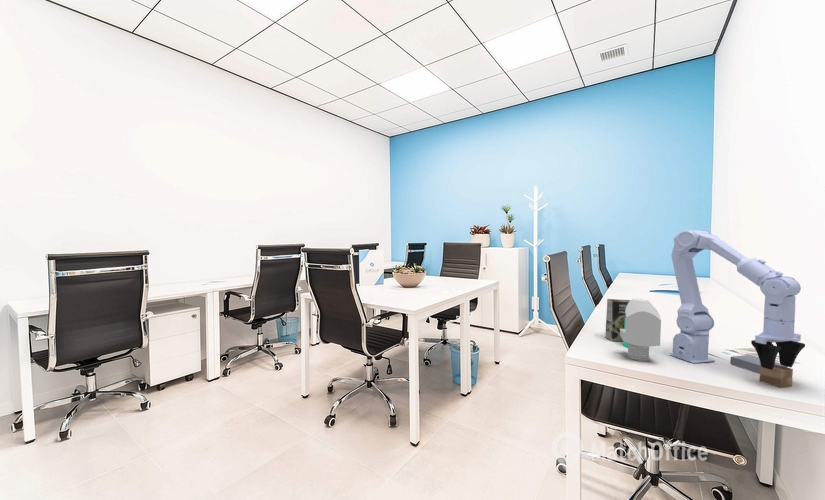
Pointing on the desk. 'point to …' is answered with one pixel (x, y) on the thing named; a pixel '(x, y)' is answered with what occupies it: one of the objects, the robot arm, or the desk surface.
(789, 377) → the block
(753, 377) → the desk surface
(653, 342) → the light fixture
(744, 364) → the plinth
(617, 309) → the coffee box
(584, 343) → the desk surface
